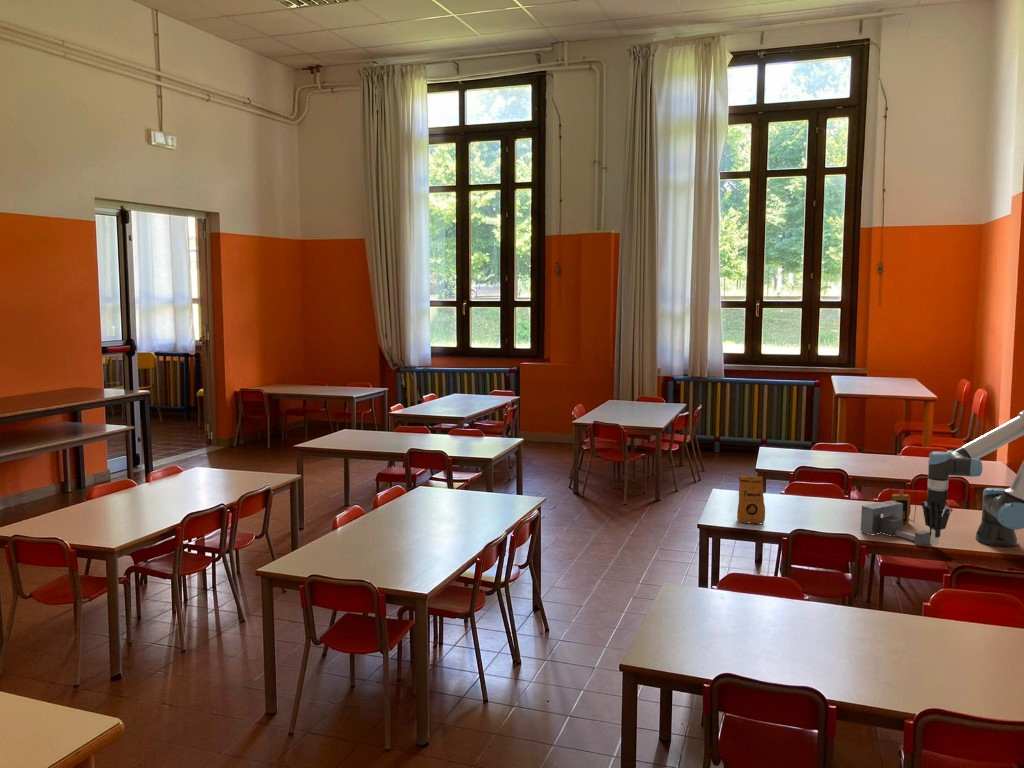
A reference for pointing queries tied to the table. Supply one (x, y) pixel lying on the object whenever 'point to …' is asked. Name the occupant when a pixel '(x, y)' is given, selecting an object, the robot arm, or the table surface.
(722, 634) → the table surface
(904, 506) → the multimeter
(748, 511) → the coffee package
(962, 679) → the table surface
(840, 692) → the table surface
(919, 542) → the plug
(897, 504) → the housing
